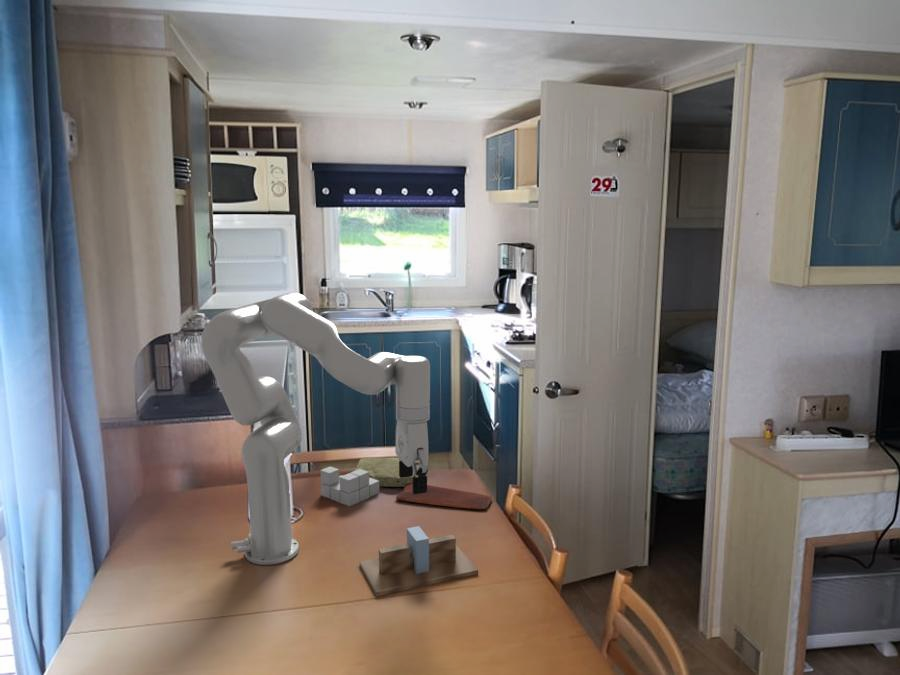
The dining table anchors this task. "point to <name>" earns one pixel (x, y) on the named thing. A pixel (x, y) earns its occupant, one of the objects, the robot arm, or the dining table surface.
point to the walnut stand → (398, 566)
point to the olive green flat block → (385, 471)
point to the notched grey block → (418, 548)
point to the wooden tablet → (445, 497)
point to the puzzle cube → (347, 486)
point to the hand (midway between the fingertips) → (412, 484)
